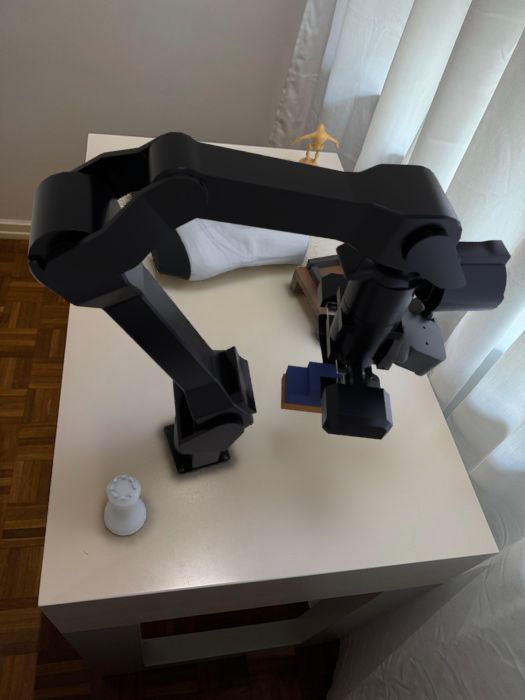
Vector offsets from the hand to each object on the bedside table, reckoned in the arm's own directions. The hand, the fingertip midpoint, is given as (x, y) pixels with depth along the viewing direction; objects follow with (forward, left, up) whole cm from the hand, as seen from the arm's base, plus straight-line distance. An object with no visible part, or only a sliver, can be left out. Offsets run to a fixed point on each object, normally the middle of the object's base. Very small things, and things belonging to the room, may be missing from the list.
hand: (330, 394), depth 64 cm
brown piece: (+19, -13, -10) cm, 25 cm away
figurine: (+48, -21, -10) cm, 54 cm away
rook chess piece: (-3, +24, -10) cm, 26 cm away
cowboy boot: (+40, -1, -10) cm, 41 cm away
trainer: (0, +1, -1) cm, 1 cm away
